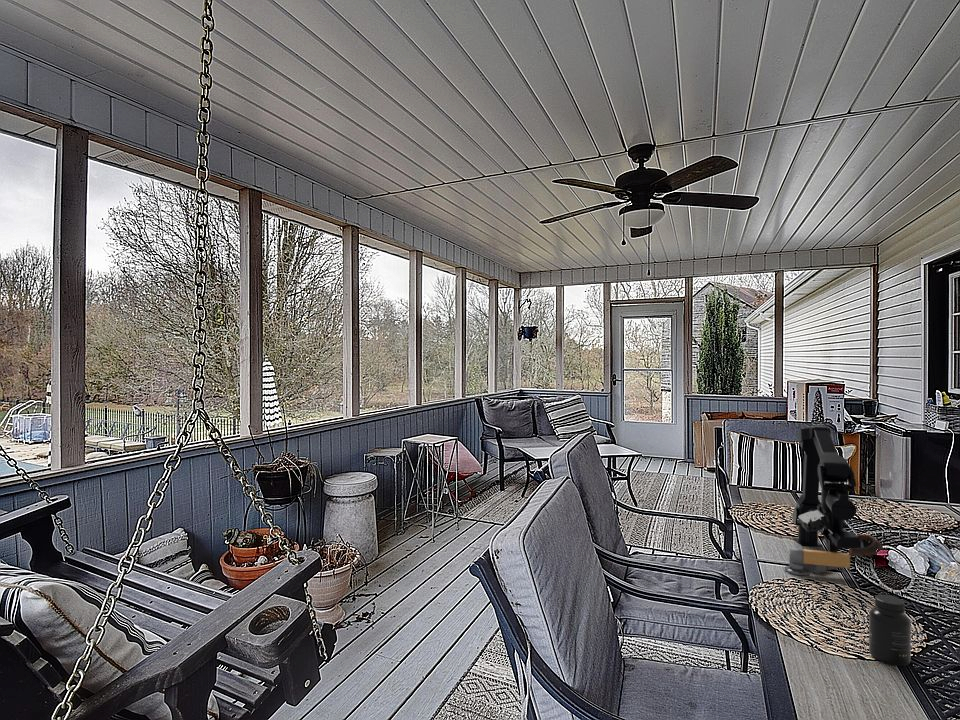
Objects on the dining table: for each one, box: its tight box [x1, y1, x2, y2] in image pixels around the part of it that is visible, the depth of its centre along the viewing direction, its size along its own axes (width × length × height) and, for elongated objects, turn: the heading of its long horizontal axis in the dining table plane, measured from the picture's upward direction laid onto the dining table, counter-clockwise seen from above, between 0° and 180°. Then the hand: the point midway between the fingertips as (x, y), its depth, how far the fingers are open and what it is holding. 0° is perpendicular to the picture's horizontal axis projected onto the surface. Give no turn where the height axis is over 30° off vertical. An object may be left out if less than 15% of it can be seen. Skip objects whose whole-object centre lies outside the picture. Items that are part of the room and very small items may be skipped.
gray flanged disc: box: [784, 561, 810, 577], centre depth 156 cm, size 6×6×3 cm
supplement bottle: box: [868, 594, 912, 667], centre depth 111 cm, size 7×7×12 cm
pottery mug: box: [848, 533, 884, 559], centre depth 167 cm, size 12×9×8 cm
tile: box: [804, 563, 828, 574], centre depth 159 cm, size 7×5×3 cm
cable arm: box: [788, 547, 851, 569], centre depth 155 cm, size 15×4×4 cm, turn 73°
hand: (832, 555), depth 156 cm, fingers closed
